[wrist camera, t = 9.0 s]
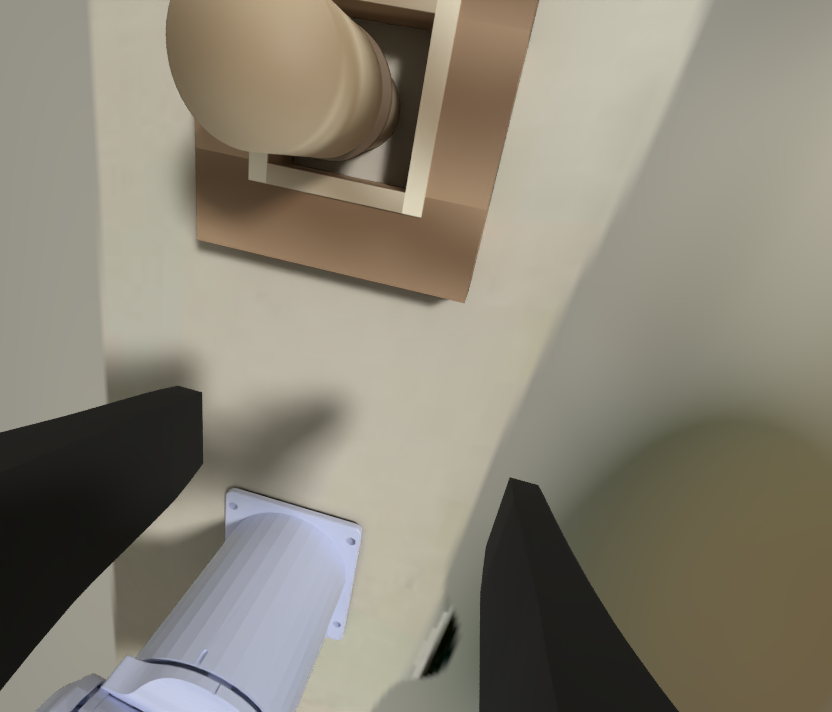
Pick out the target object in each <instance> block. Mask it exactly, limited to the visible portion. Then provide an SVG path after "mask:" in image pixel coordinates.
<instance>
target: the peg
mask: <svg viewBox="0 0 832 712" xmlns="http://www.w3.org/2000/svg"><path fill="white" fill-rule="evenodd" d="M166 48H167V54H168V61H169V65H170V69H171V73H172V76H173V79H174V82H175V85H176V87H177V89H178V91H179V94H180V96H181V98H182V100H183V101H184V103H185V105H186V106H187V108H188V110H189V111H190V112H191V114H192V115H193V116H194V118H195V119H196V120H197V121H198V122H199V124H200V125H201V126H202V127H203V128H204V129H205V130H206V131H208V132H209V133H210V134H211V135H212V136H214V137H215V138H217V139H218V140H220V141H221V142H223V143H225V144H227V145H229V146H231V147H233V148H236V149H239V150H243V151H248V152H257V153H268V154H280V155H291V156H303V157H314V158H319V159H323V160H330V161H341V160H347V159H351V158H354V157H356V156H358V155H360V154H362V153H363V152H365V151H366V150H370V149H374V148H376V147H378V146H380V145H381V144H383V143H384V142H385V141H386V140H387V139H388V138H389V137H390V136H391V134H392V133H393V131H394V129H395V128H396V125H397V122H398V119H399V114H400V98H399V93H398V90H397V87H396V84H395V82H394V80H393V79H392V77H391V74H390V70H389V67H388V64H387V61H386V59H385V56H384V54H383V52H382V51H381V49H380V47H379V46H378V44H377V43H376V42H375V40H374V39H373V38H372V37H371V36H370V35H369V34H368V33H367V32H366V31H365V30H364V29H363V28H362V27H360V26H359V25H358V24H356V23H355V22H353V21H352V20H351V19H350V18H349V17H348V16H347V15H346V14H345V13H344V12H343V11H342V10H341V9H340V8H339V7H338V6H337V5H336V4H335V3H334V2H333V1H332V0H170V3H169V7H168V14H167V20H166Z"/></svg>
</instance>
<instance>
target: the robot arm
mask: <svg viewBox="0 0 832 712" xmlns="http://www.w3.org/2000/svg"><path fill="white" fill-rule="evenodd" d="M202 464H203V422H202V392H199V391H195V390H192V389H188V388H184V387H181V386H175V387H170V388H165V389H161V390H157V391H153V392H149V393H145V394H142V395H138V396H134V397H131V398H127V399H124V400H120V401H117V402H113V403H110V404H106V405H103V406H99V407H96V408H92V409H89V410H85V411H81V412H78V413H75V414H71V415H67V416H64V417H60V418H56V419H52V420H48V421H44V422H40V423H36V424H32V425H29V426H25V427H20V428H16V429H13V430H9V431H5V432H1V433H0V690H1V689H2V688H3V687H4V685H5V684H6V683H7V682H8V681H9V679H10V678H11V677H12V675H13V674H14V673H15V672H16V671H17V669H18V668H19V667H20V666H21V664H22V663H23V662H24V661H25V659H26V658H27V657H28V656H29V654H30V653H31V652H32V651H33V650H34V648H35V647H36V646H37V645H38V644H39V642H40V641H41V640H42V639H43V637H44V636H45V635H46V634H47V633H48V632H49V631H50V629H51V628H52V627H53V626H54V625H55V623H56V622H57V621H58V620H59V619H60V618H61V616H62V615H63V614H64V613H65V611H67V609H68V608H69V607H70V606H71V605H72V604H73V602H74V601H75V600H76V599H77V598H78V597H79V596H80V595H81V594H82V593H83V592H84V591H85V590H86V589H87V587H89V585H90V584H91V583H92V582H93V581H94V580H95V579H96V578H97V577H98V576H99V575H100V574H101V573H102V572H103V571H104V570H105V569H106V568H107V567H108V566H109V565H110V564H111V563H112V562H113V561H114V560H115V559H116V558H118V557H119V556H120V555H121V554H122V553H123V552H124V551H125V550H126V549H127V548H128V547H129V546H130V545H131V544H132V543H133V542H134V541H135V540H136V539H137V538H138V537H139V536H140V535H141V534H142V533H143V532H144V531H145V530H146V529H147V528H148V527H149V526H150V525H151V524H152V523H153V522H154V521H155V520H156V519H157V518H158V517H159V516H160V515H161V514H162V513H163V512H164V511H165V510H166V509H167V508H168V507H169V505H170V504H171V503H172V502H173V501H174V500H175V499H176V498H177V497H178V495H179V494H180V493H181V492H182V490H183V489H184V488H185V487H186V486H187V484H188V483H189V482H190V480H191V479H192V478H193V476H194V475H195V474H196V472H197V471H198V470H199V468H200V467H201V466H202ZM362 534H363V530H362V528H361V527H360V526H359V525H357V524H355V523H352V522H349V521H345V520H342V519H338V518H335V517H332V516H328V515H325V514H322V513H318V512H315V511H312V510H308V509H305V508H301V507H298V506H295V505H291V504H288V503H285V502H281V501H278V500H275V499H271V498H268V497H265V496H261V495H258V494H254V493H251V492H248V491H244V490H241V489H238V488H232V489H230V490H229V491H228V493H227V494H226V512H225V542H224V544H223V545H222V546H221V548H220V549H219V550H218V551H217V553H216V554H215V555H214V557H213V558H212V559H211V560H210V562H209V563H208V564H207V566H206V567H205V568H204V570H203V571H202V572H201V573H200V575H199V576H198V577H197V579H196V580H195V581H194V582H193V584H192V585H191V586H190V588H189V589H188V590H187V592H186V593H185V594H184V595H183V597H182V598H181V599H180V601H179V602H178V603H177V604H176V606H175V607H174V608H173V610H172V611H171V612H170V614H169V615H168V616H167V617H166V619H165V620H164V621H163V623H162V624H161V625H160V626H159V628H158V629H157V630H156V632H155V633H154V634H153V636H152V637H151V638H150V639H149V641H148V642H147V643H146V645H145V646H144V647H143V648H142V650H141V651H140V652H139V654H138V655H137V656H136V658H134V657H132V656H130V655H126V656H125V657H124V659H123V660H122V661H121V662H120V664H119V665H118V666H117V667H116V669H115V670H114V671H113V672H112V674H111V675H110V676H109V677H108V679H107V680H106V679H104V678H102V677H101V676H99V675H97V674H91V675H88V676H85V677H84V678H82V679H81V680H78V681H76V682H73V683H71V684H68V685H66V686H64V687H62V688H61V689H59V690H58V691H57V692H55V693H54V694H53V695H52V696H51V697H50V698H48V699H47V700H46V701H45V702H44V703H43V704H42V705H41V706H40V707H39V708H38V709H37V710H36V711H35V712H296V710H297V708H298V705H299V703H300V700H301V698H302V695H303V693H304V690H305V688H306V685H307V683H308V680H309V678H310V675H311V672H312V670H313V667H314V665H315V662H316V660H317V657H318V655H319V652H320V650H321V647H322V645H323V642H324V640H325V637H328V638H331V639H334V640H340V639H342V637H343V635H344V632H345V626H346V621H347V615H348V610H349V604H350V599H351V594H352V588H353V583H354V577H355V572H356V567H357V561H358V556H359V550H360V545H361V539H362ZM350 538H352V539H354V540H352V539H350ZM480 593H481V594H480V596H481V597H480V702H479V703H480V704H479V712H679V711H678V710H677V709H676V707H675V706H674V705H673V704H672V703H671V701H670V700H669V698H668V697H667V696H666V694H665V693H664V692H663V691H662V689H661V688H660V687H659V685H658V684H657V683H656V681H655V680H654V678H653V677H652V676H651V675H650V673H649V672H648V670H647V669H646V667H645V666H644V665H643V663H642V662H641V660H640V659H639V658H638V656H637V655H636V654H635V652H634V651H633V649H632V648H631V647H630V645H629V644H628V642H627V641H626V640H625V638H624V637H623V635H622V633H621V632H620V631H619V629H618V628H617V626H616V625H615V623H614V622H613V620H612V619H611V617H610V615H609V614H608V612H607V610H606V609H605V607H604V605H603V604H602V602H601V601H600V599H599V597H598V596H597V594H596V593H595V591H594V589H593V587H592V586H591V584H590V582H589V581H588V579H587V577H586V575H585V574H584V572H583V570H582V569H581V566H580V565H579V563H578V561H577V559H576V558H575V556H574V554H573V552H572V550H571V549H570V547H569V545H568V543H567V541H566V539H565V537H564V536H563V533H562V532H561V529H560V527H559V525H558V524H557V522H556V520H555V518H554V516H553V514H552V512H551V509H550V507H549V505H548V503H547V502H546V499H545V497H544V495H543V493H542V491H541V489H540V488H539V486H538V485H536V484H531V483H528V482H525V481H521V480H517V479H514V478H509V481H508V484H507V487H506V490H505V493H504V496H503V499H502V502H501V504H500V508H499V510H498V513H497V516H496V519H495V522H494V525H493V528H492V531H491V533H490V537H489V539H488V542H487V545H486V550H485V559H484V566H483V575H482V584H481V592H480Z"/></svg>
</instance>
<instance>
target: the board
mask: <svg viewBox="0 0 832 712" xmlns="http://www.w3.org/2000/svg"><path fill="white" fill-rule="evenodd" d="M332 1H333V2H334V3H335V4H336V5H337V6H338V7H339V8H340V9H341V10H342V11H343V12H344V13H345V14H346V15H347V16H350V17H356V18H361V19H367V20H373V21H378V22H384V23H390V24H395V25H401V26H407V27H413V28H418V29H424V30H430V31H432V36H431V42H430V48H429V54H428V60H427V66H426V72H425V78H424V84H423V90H422V96H421V102H420V108H419V114H418V120H417V126H416V132H415V138H414V144H413V150H412V156H411V162H410V168H409V174H408V180H407V186H406V188H401V187H397V186H392V185H387V184H383V183H378V182H373V181H369V180H364V179H359V178H355V177H350V176H345V175H341V174H336V173H331V172H327V171H322V170H317V169H313V168H308V167H303V166H298V165H294V164H293V156H291V155H280V154H268V153H257V152H248V151H243V150H239V149H236V148H233V147H231V146H229V145H227V144H225V143H223V142H221V141H220V140H218V139H217V138H215V137H214V136H212V135H211V134H210V133H209V132H208V131H206V130H205V129H204V128H203V127H202V126H201V125H200V124H199V122H198V121H197V120H196V119H195V152H196V214H197V240H201V241H205V242H210V243H214V244H218V245H222V246H226V247H231V248H235V249H239V250H243V251H247V252H252V253H256V254H260V255H264V256H268V257H273V258H277V259H281V260H285V261H289V262H294V263H298V264H302V265H306V266H310V267H315V268H319V269H323V270H327V271H331V272H336V273H340V274H344V275H348V276H352V277H357V278H361V279H365V280H369V281H373V282H378V283H382V284H386V285H390V286H394V287H399V288H403V289H407V290H411V291H415V292H420V293H424V294H428V295H432V296H436V297H441V298H445V299H449V300H453V301H457V302H462V303H464V302H465V300H466V297H467V294H468V291H469V287H470V283H471V279H472V275H473V271H474V266H475V262H476V258H477V254H478V250H479V246H480V242H481V238H482V233H483V229H484V225H485V221H486V217H487V213H488V209H489V205H490V201H491V196H492V192H493V188H494V184H495V180H496V176H497V172H498V168H499V164H500V159H501V155H502V151H503V147H504V143H505V139H506V135H507V131H508V127H509V122H510V118H511V114H512V110H513V106H514V102H515V98H516V94H517V90H518V85H519V81H520V77H521V73H522V69H523V65H524V61H525V57H526V53H527V48H528V44H529V40H530V36H531V32H532V28H533V24H534V20H535V15H536V11H537V7H538V3H539V0H332Z"/></svg>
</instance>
